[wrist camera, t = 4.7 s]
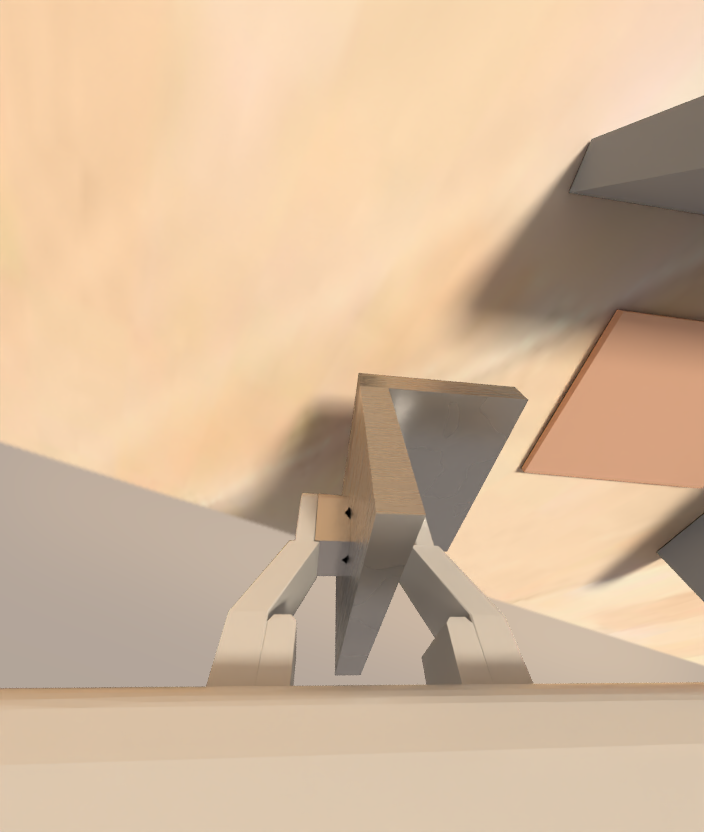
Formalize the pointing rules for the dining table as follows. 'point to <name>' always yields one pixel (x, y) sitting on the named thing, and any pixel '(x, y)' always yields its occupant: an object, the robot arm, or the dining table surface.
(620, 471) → the mat
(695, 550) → the grey l-shaped piece
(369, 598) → the angle bracket
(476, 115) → the dining table surface
